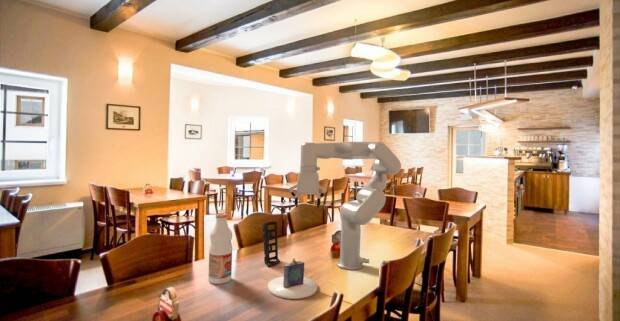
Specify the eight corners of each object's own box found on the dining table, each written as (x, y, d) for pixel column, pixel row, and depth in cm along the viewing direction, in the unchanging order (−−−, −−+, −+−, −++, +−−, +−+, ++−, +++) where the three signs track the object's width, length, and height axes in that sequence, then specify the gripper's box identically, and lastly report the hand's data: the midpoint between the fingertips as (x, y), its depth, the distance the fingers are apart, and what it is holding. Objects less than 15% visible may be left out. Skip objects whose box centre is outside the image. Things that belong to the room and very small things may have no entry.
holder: (275, 267, 154) (273, 225, 154) (260, 267, 156) (258, 225, 156) (282, 260, 165) (280, 220, 165) (268, 260, 167) (265, 221, 167)
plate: (316, 279, 143) (316, 276, 143) (318, 300, 123) (318, 296, 123) (270, 277, 143) (270, 275, 143) (265, 298, 123) (265, 295, 123)
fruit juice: (209, 276, 142) (210, 212, 141) (231, 275, 144) (233, 212, 143) (207, 285, 133) (209, 216, 132) (231, 283, 135) (233, 216, 134)
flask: (284, 288, 129) (285, 261, 129) (281, 285, 132) (282, 259, 131) (304, 284, 134) (305, 258, 134) (301, 281, 137) (301, 256, 136)
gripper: (326, 169, 153) (325, 205, 154) (289, 168, 153) (288, 204, 153) (328, 170, 146) (326, 208, 146) (289, 169, 145) (288, 207, 146)
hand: (307, 206), depth 150 cm, fingers open, 9 cm apart
